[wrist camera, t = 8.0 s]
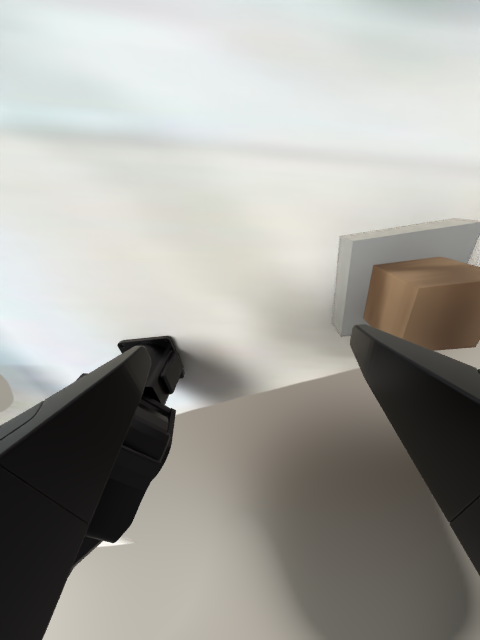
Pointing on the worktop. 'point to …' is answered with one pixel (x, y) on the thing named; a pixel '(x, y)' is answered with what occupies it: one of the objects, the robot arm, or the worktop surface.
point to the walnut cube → (426, 302)
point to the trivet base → (392, 259)
